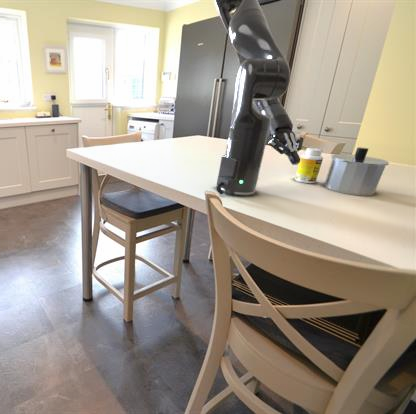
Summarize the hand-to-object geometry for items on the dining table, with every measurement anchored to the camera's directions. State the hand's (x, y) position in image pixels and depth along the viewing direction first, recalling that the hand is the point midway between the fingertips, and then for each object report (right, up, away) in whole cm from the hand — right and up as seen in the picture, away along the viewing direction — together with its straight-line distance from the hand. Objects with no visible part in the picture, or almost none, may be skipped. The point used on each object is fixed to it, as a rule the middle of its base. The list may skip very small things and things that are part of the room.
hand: (296, 163), depth 92 cm
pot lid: (+9, -1, -12) cm, 15 cm away
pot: (+9, -9, -9) cm, 16 cm away
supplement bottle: (+1, -6, -2) cm, 7 cm away
